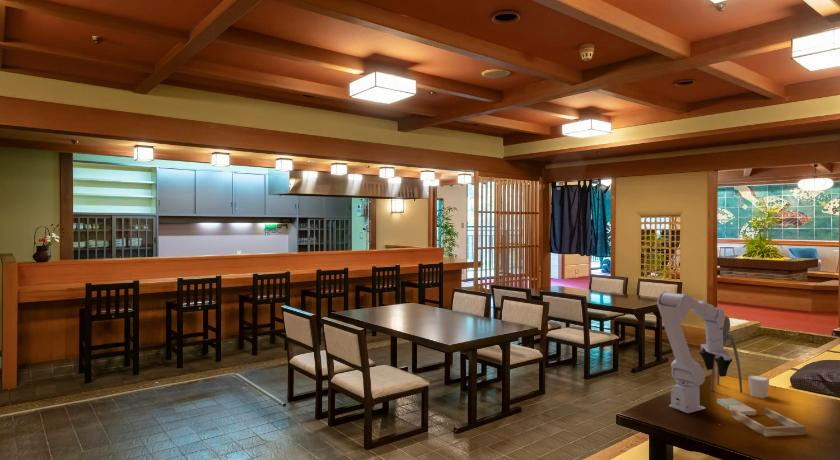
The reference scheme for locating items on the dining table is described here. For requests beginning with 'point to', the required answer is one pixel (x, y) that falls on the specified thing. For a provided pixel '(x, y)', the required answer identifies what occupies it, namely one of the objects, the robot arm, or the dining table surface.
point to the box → (787, 429)
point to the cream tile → (743, 409)
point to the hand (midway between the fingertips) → (716, 372)
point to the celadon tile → (728, 402)
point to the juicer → (730, 337)
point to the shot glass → (758, 386)
